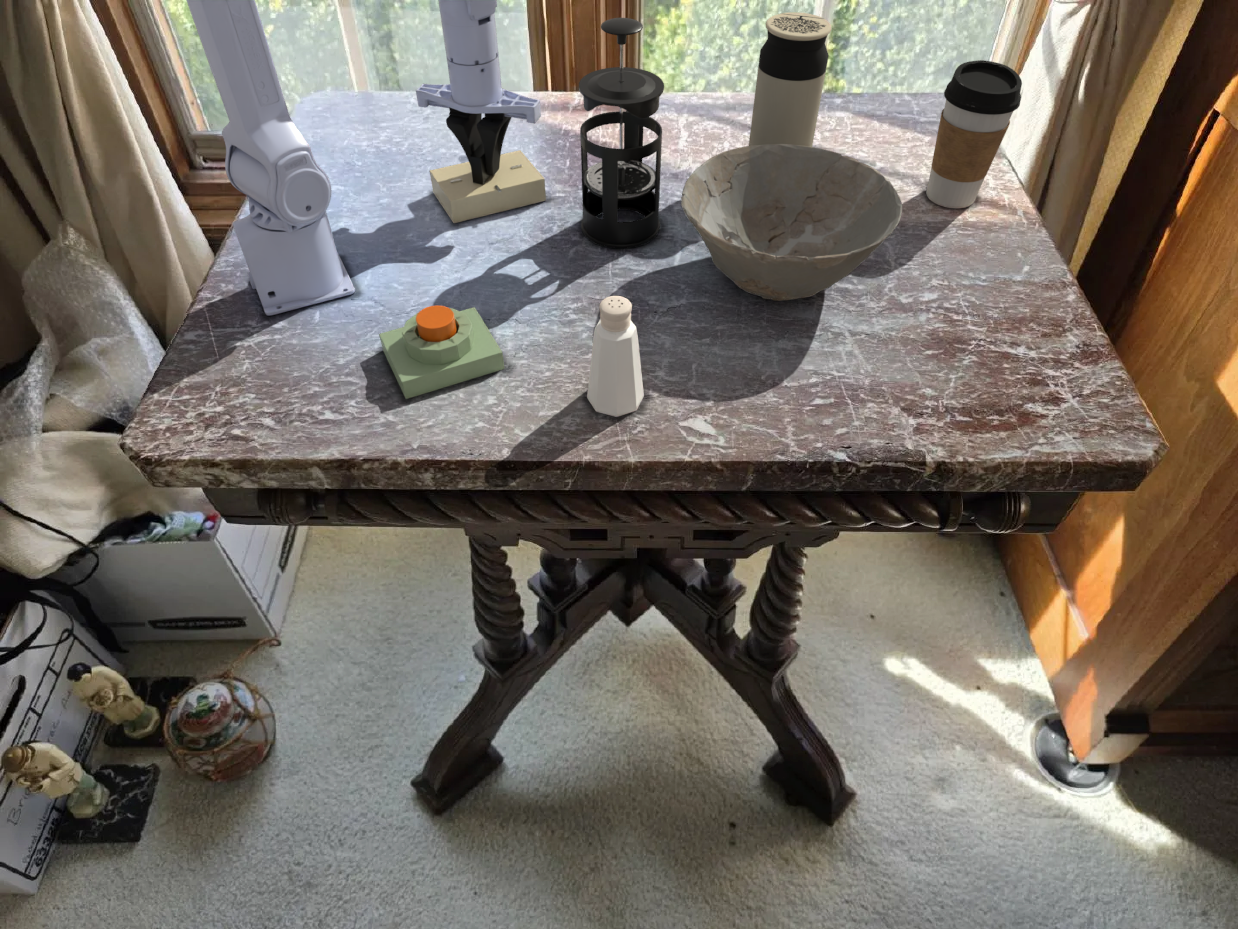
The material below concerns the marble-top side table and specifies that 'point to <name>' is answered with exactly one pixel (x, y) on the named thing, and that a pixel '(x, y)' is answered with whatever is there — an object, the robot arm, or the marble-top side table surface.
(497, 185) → the dial panel
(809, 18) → the travel mug
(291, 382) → the marble-top side table surface
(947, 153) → the coffee cup
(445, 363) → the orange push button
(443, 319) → the button
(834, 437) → the marble-top side table surface
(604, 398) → the salt shaker
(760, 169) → the ceramic bowl
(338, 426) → the marble-top side table surface
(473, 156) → the knob
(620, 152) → the french press
